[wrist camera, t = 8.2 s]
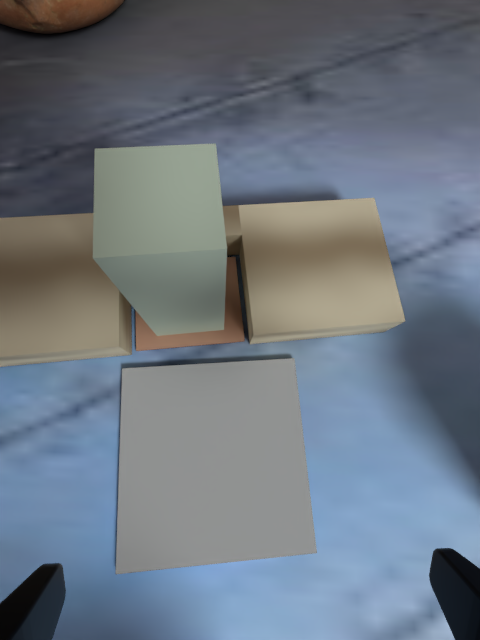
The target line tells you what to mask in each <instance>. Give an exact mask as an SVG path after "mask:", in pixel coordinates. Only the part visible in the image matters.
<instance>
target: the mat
mask: <svg viewBox="0 0 480 640" xmlns="http://www.w3.org/2000/svg"><path fill="white" fill-rule="evenodd" d="M312 553H317V550H316V542H315V533H314V524H313V516H312V507H311V498H310V490H309V481H308V472H307V464H306V455H305V446H304V438H303V429H302V420H301V412H300V403H299V394H298V386H297V377H296V368H295V360H294V358H290V359H274V360H257V361H240V362H223V363H206V364H190V365H173V366H156V367H139V368H122V393H121V424H120V455H119V486H118V517H117V548H116V574H122V573H132V572H141V571H151V570H160V569H170V568H179V567H189V566H198V565H208V564H217V563H227V562H236V561H246V560H255V559H265V558H274V557H284V556H293V555H303V554H312Z"/></svg>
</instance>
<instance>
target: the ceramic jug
mask: <svg viewBox="0 0 480 640" xmlns="http://www.w3.org/2000/svg"><path fill="white" fill-rule="evenodd" d="M124 1H125V0H0V23H1V24H3V25H6V26H9V27H12V28H15V29H19V30H23V31H28V32H35V33H44V34H51V33H63V32H68V31H73V30H77V29H81V28H84V27H87V26H90V25H92V24H95V23H97V22H99V21H101V20H102V19H104V18H106V17H107V16H109V15H110V14H111V13H112V12H114V11H115V10H116V9H117V8H118V7H119V6H120V5H121V4H122V3H123V2H124Z"/></svg>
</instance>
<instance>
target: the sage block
mask: <svg viewBox="0 0 480 640" xmlns="http://www.w3.org/2000/svg"><path fill="white" fill-rule="evenodd" d="M93 259H94V260H95V262H96V263H97V264H98V265H99V266H100V268H101V269H102V270H103V271H104V273H105V274H106V275H107V276H108V277H109V279H110V280H111V281H112V282H113V283H114V285H115V286H116V287H117V288H118V289H119V291H120V292H121V293H122V294H123V295H124V297H125V298H126V299H127V300H128V302H129V303H130V304H131V305H132V306H133V308H134V309H135V310H136V311H137V312H138V314H139V315H140V316H141V317H142V318H143V320H144V321H145V322H146V323H147V325H148V326H149V327H150V328H151V329H152V331H153V332H154V333H155V334H156V335H157V336H162V335H173V334H184V333H195V332H206V331H217V330H224V317H225V291H226V265H227V243H226V234H225V225H224V216H223V206H222V197H221V188H220V179H219V169H218V160H217V151H216V144H196V145H172V146H147V147H123V148H99V149H95V160H94V216H93Z"/></svg>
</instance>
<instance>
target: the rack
mask: <svg viewBox="0 0 480 640" xmlns="http://www.w3.org/2000/svg"><path fill="white" fill-rule="evenodd" d="M93 216H94V213H84V214H66V215H47V216H29V217H10V218H0V367H2V366H14V365H25V364H36V363H47V362H58V361H69V360H80V359H91V358H102V357H113V356H124V355H132V324H131V304H130V303H129V302H128V300H127V299H126V298H125V297H124V295H123V294H122V293H121V292H120V291H119V289H118V288H117V287H116V286H115V285H114V283H113V282H112V281H111V280H110V279H109V277H108V276H107V275H106V274H105V273H104V271H103V270H102V269H101V268H100V266H99V265H98V264H97V263H96V262H95V260H94V259H93ZM223 216H224V225H225V234H226V243H227V256H232V255H240V263H241V272H242V281H243V290H244V299H245V308H246V316H247V325H248V334H249V343H250V344H257V343H268V342H279V341H291V340H302V339H313V338H324V337H335V336H346V335H357V334H368V333H379V332H385V331H387V330H389V329H391V328H393V327H395V326H397V325H399V324H401V323H403V322H405V317H404V313H403V309H402V305H401V302H400V298H399V294H398V290H397V286H396V282H395V278H394V274H393V270H392V266H391V262H390V258H389V254H388V250H387V246H386V242H385V238H384V234H383V230H382V226H381V223H380V219H379V215H378V211H377V207H376V203H375V199H374V198H363V199H345V200H326V201H308V202H289V203H270V204H252V205H233V206H223ZM243 341H245V339H244V330H243V321H242V312H241V303H240V294H239V285H238V276H237V266H236V257H227V265H226V291H225V317H224V330H217V331H206V332H195V333H184V334H173V335H162V336H157V335H156V334H155V333H154V332H153V331H152V329H151V328H150V327H149V326H148V325H147V323H146V322H145V321H144V320H143V318H142V317H141V316H140V315H139V314H138V312H137V311H136V351H143V350H154V349H165V348H176V347H188V346H199V345H210V344H221V343H232V342H243Z"/></svg>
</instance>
